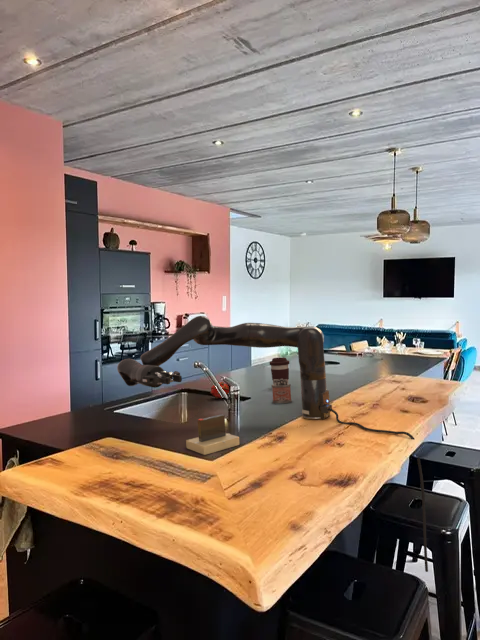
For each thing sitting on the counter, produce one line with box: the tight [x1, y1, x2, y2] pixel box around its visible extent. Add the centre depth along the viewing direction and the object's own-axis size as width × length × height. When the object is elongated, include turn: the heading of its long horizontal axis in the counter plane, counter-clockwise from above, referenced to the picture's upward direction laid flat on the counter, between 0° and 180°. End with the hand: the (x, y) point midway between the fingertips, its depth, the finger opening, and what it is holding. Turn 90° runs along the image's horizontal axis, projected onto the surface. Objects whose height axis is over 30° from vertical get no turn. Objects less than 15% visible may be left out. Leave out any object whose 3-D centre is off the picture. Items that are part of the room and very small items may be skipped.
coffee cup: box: [269, 356, 291, 385], centre depth 241 cm, size 10×10×15 cm
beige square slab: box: [185, 432, 240, 456], centre depth 149 cm, size 13×13×3 cm
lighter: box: [271, 379, 292, 404], centre depth 207 cm, size 8×3×10 cm, turn 84°
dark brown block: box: [197, 413, 227, 442], centre depth 148 cm, size 9×2×7 cm, turn 128°
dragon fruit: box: [209, 381, 230, 400], centre depth 224 cm, size 8×8×12 cm
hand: (174, 379), depth 157 cm, fingers open, 3 cm apart
